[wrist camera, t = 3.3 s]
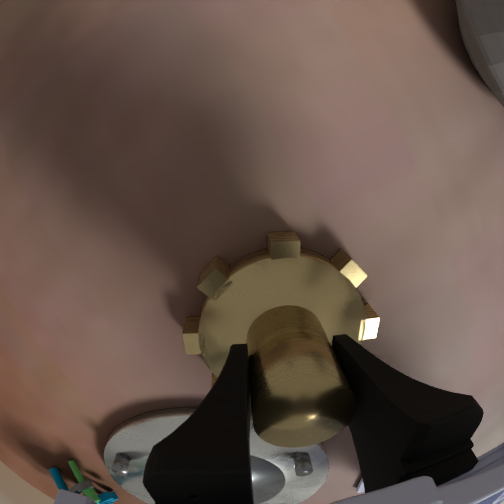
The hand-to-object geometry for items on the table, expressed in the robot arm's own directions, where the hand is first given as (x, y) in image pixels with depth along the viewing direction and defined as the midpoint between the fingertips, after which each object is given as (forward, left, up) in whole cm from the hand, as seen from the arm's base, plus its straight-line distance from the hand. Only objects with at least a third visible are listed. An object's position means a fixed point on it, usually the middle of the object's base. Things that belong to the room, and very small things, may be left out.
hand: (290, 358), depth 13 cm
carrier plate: (+5, +15, -3) cm, 16 cm away
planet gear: (0, 0, -3) cm, 3 cm away
